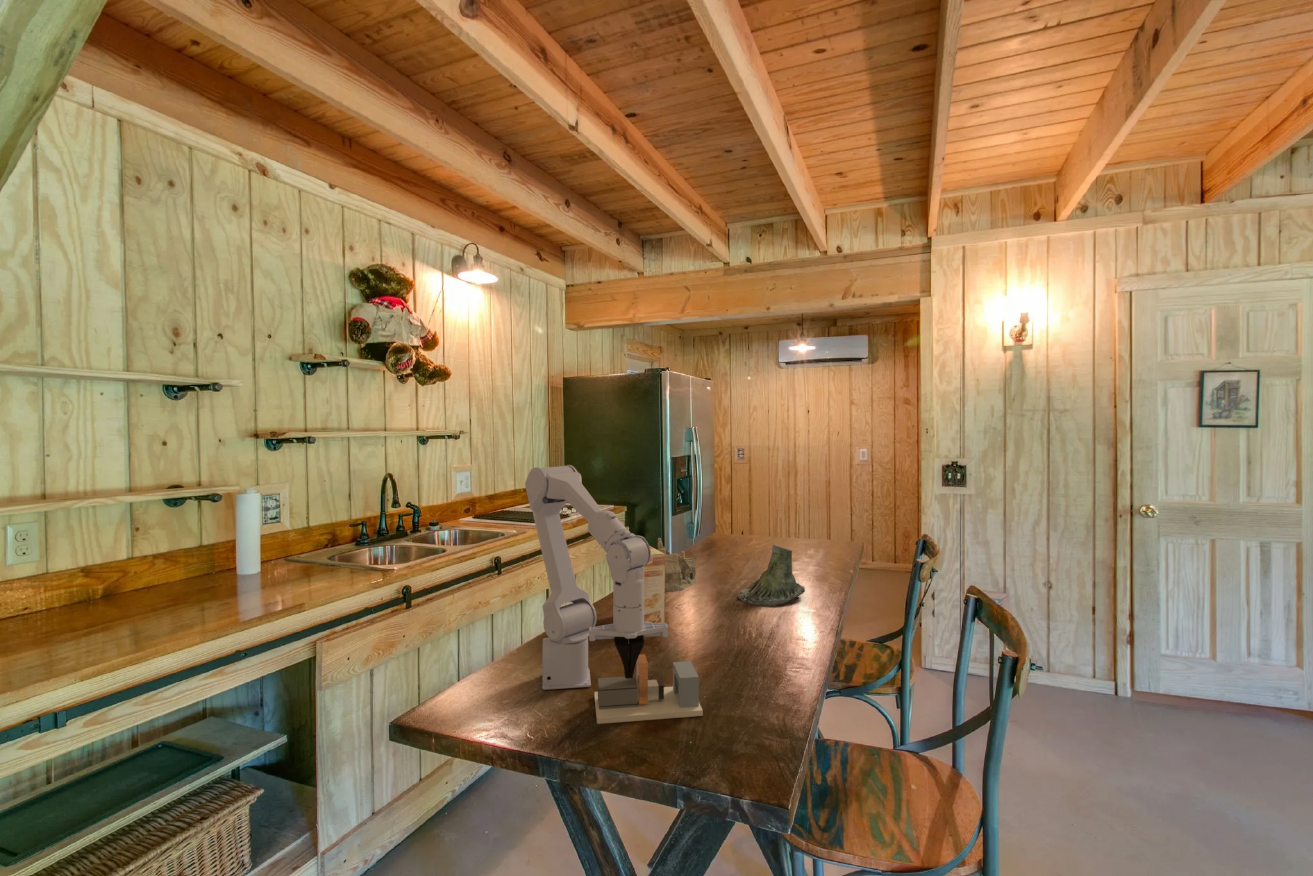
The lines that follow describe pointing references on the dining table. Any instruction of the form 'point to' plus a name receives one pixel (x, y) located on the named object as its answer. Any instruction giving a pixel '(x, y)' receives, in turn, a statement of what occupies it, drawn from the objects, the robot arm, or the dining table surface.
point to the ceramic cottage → (677, 570)
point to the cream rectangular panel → (635, 703)
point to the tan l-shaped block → (647, 683)
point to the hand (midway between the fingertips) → (628, 676)
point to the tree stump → (774, 582)
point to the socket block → (686, 684)
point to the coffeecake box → (654, 587)
